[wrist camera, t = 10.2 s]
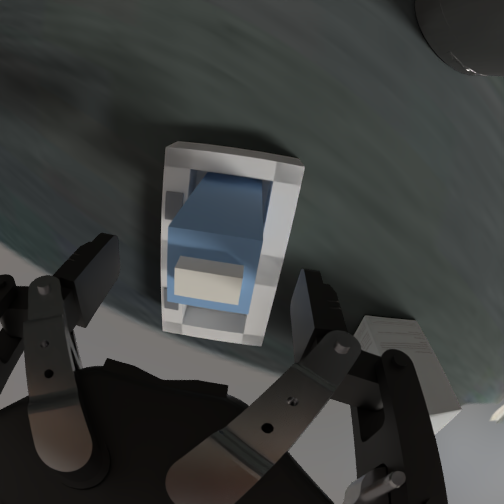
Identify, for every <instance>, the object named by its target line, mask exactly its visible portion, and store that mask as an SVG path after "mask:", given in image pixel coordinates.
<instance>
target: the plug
mask: <svg viewBox="0 0 504 504" xmlns="http://www.w3.org/2000/svg"><path fill="white" fill-rule="evenodd" d="M262 244H263V204H262V180H259V179H253V178H246V177H240V176H233V175H227V174H220V173H212V172H207V173H206V175H205V176H204V177H203V179H202V180H201V181H200V183H199V184H198V185H197V187H196V188H195V189H194V191H193V192H192V194H191V195H190V196H189V198H188V199H187V200H186V202H185V203H184V205H183V206H182V207H181V209H180V210H179V212H178V213H177V214H176V216H175V217H174V219H173V220H172V222H171V223H170V224H169V226H168V244H167V301H168V302H174V303H179V304H185V305H190V306H196V307H202V308H208V309H215V310H221V311H227V312H234V313H241V314H248V313H249V309H250V304H251V299H252V294H253V289H254V284H255V279H256V274H257V269H258V264H259V259H260V254H261V249H262Z"/></svg>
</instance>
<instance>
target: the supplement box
mask: <svg viewBox="0 0 504 504" xmlns="http://www.w3.org/2000/svg"><path fill="white" fill-rule="evenodd" d="M354 337H355V338H356V339H357V340H358V341H359V343H360V345H361V349H362V350H363V351H366V352H369V353H372V354H375V355H378V356H382V354H383V353H384V352H385V351H386V350H388V349H397V350H400V351H402V352H404V353H405V354H407V355H408V356H409V357H410V359H411V360H412V362H413V364H414V367H415V370H416V373H417V376H418V379H419V382H420V385H421V388H422V392H423V395H424V398H425V402H426V405H427V409H428V412H429V416H430V419H431V423H432V427H433V431H434V435H435V434H436V433H437V432H439V431H440V430H441V429H442V428H443V427H444V426H445V425H446V424H447V423H449V422H450V421H451V420H452V419H453V418H454V417H455V416H456V415H457V414H458V413H459V412H460V411H461V407H460V404H459V402H458V400H457V398H456V396H455V393H454V391H453V389H452V387H451V385H450V383H449V381H448V379H447V377H446V375H445V373H444V371H443V369H442V367H441V365H440V363H439V361H438V359H437V357H436V355H435V353H434V351H433V349H432V347H431V346H430V344H429V342H428V340H427V338H426V336H425V335H424V333H423V331H422V329H421V327H420V326H419V324H418V322H417V321H416V320H405V319H395V318H385V317H376V316H368V315H365V316H364V318H363V319H362V321H361V323H360V325H359V327H358V329H357V330H356V332H355V334H354Z"/></svg>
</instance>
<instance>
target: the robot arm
mask: <svg viewBox="0 0 504 504" xmlns="http://www.w3.org/2000/svg"><path fill="white" fill-rule="evenodd" d="M415 12H416V17H417V20H418V24H419V27H420V29H421V31H422V33H423V35H424V37H425V39H426V40H427V42H428V43H429V45H430V46H431V48H432V49H433V50H434V51H435V53H436V54H437V55H438V56H439V57H440V58H441V59H442V60H443V61H444V62H445V63H446V64H447V65H449V66H450V67H452V68H453V69H455V70H456V71H459V72H461V73H463V74H467V75H479V76H503V77H504V0H415ZM119 273H120V256H119V241H118V237H117V236H116V235H111V234H106V233H100V234H99V235H98V236H97V237H96V238H95V239H94V240H93V241H92V242H88V243H86V244H84V245H82V246H80V247H79V248H78V249H77V250H76V251H75V252H74V254H72V255H71V257H70V258H69V260H67V261H66V262H65V263H64V264H63V265H62V266H61V267H60V268H59V269H58V270H57V271H56V273H55V274H54V275H53V276H50V275H46V276H41V277H39V278H37V279H35V280H34V281H33V282H32V283H31V284H30V286H29V287H28V286H16V284H15V281H14V278H13V277H12V276H11V275H6V274H5V275H0V322H1V324H2V326H3V328H2V329H1V331H0V394H1V392H2V390H3V388H4V386H5V384H6V382H7V380H8V378H9V376H10V374H11V372H12V370H13V369H14V367H15V365H16V363H17V361H18V360H19V358H20V356H21V354H22V353H23V351H24V356H25V368H26V377H27V386H28V393H29V395H28V396H26V397H25V398H22V399H21V400H19V401H17V402H15V403H13V404H11V405H9V406H7V407H5V408H3V409H1V410H0V504H334V503H333V501H332V500H331V499H330V498H329V497H328V496H327V495H326V494H325V493H324V492H323V491H322V490H321V489H320V487H319V486H318V485H317V484H316V483H315V482H314V481H313V480H312V479H311V478H310V476H309V475H308V474H307V473H306V472H305V471H304V470H303V469H302V467H301V466H300V465H299V464H298V463H297V462H296V461H295V460H294V458H293V457H292V456H291V455H290V453H288V450H289V449H290V448H291V447H292V446H293V445H294V444H295V442H296V441H297V440H298V439H299V437H300V436H301V435H302V434H303V433H304V432H305V430H306V429H307V428H308V427H309V425H310V424H311V423H312V421H313V420H314V419H315V418H316V417H317V415H318V414H319V413H320V411H321V410H322V409H323V407H324V406H325V405H326V404H327V402H328V401H329V399H333V400H336V401H339V402H343V403H346V404H349V405H350V407H351V415H352V425H353V434H354V444H355V456H356V469H357V480H355V481H353V482H352V483H351V484H350V485H349V486H348V487H347V489H346V492H345V497H344V502H343V504H448V500H447V495H446V488H445V482H444V476H443V471H442V466H441V461H440V457H439V452H438V447H437V443H436V439H435V435H434V431H433V427H432V423H431V419H430V416H429V412H428V409H427V405H426V402H425V398H424V395H423V392H422V388H421V385H420V382H419V379H418V376H417V373H416V370H415V367H414V364H413V362H412V360H411V359H410V357H409V356H408V355H407V354H405V353H404V352H402V351H400V350H397V349H388V350H386V351H385V352H384V353H383V354H382V356H378V355H375V354H372V353H369V352H366V351H363V350H362V349H361V345H360V343H359V341H358V340H357V339H356V338H355V337H354V336H353V335H351V334H349V333H348V331H347V328H346V324H345V321H344V317H343V314H342V311H341V307H340V304H339V303H338V302H339V301H338V297H337V294H336V292H335V291H334V290H333V288H332V287H331V286H330V285H329V284H323V281H322V278H321V274H320V272H319V271H315V270H309V269H302V270H301V271H300V274H299V277H298V280H297V284H296V287H295V290H294V293H293V296H292V300H291V306H290V314H291V325H292V337H293V349H294V361H295V363H294V364H293V365H292V366H291V367H290V368H289V369H288V370H287V371H286V372H285V373H284V374H283V375H282V376H281V377H280V378H279V379H278V380H277V381H276V382H275V383H273V385H271V386H270V387H269V388H268V389H267V390H266V391H265V392H264V393H263V394H262V395H261V396H260V397H259V398H258V399H256V400H255V401H254V402H253V403H252V404H251V405H250V406H248V405H247V404H246V403H244V402H242V401H241V400H239V399H237V398H235V397H233V396H231V395H228V394H227V391H228V385H223V384H217V383H210V382H204V381H199V380H162V379H159V378H157V377H155V376H153V375H151V374H149V373H147V372H145V371H143V370H141V369H139V368H138V367H135V366H133V365H130V364H126V363H122V362H119V361H115V360H112V359H109V358H107V360H106V361H105V364H104V366H93V367H86V368H83V367H82V363H81V359H80V355H79V352H78V347H77V342H76V338H75V334H74V330H73V329H74V327H75V326H76V325H78V326H81V327H84V328H86V327H87V325H88V323H89V322H90V320H91V319H92V317H93V315H94V314H95V312H96V311H97V309H98V307H99V306H100V304H101V303H102V301H103V300H104V298H105V297H106V295H107V294H108V292H109V291H110V289H111V288H112V286H113V285H114V283H115V282H116V280H117V279H118V276H119Z"/></svg>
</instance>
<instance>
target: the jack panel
mask: <svg viewBox="0 0 504 504" xmlns="http://www.w3.org/2000/svg"><path fill="white" fill-rule="evenodd" d="M304 169H305V166H304V165H303V164H302V162H301V161H300V159H298V158H293V157H288V156H283V155H277V154H271V153H266V152H260V151H253V150H247V149H240V148H233V147H226V146H218V145H210V144H202V143H192V142H182V141H177V142H175V143H173V144H171V145H169V146H167V147H166V150H165V162H164V176H163V193H162V217H161V301H162V324H163V331H167V332H172V333H177V334H182V335H188V336H194V337H199V338H205V339H212V340H218V341H225V342H232V343H239V344H246V345H254V346H261V345H262V342H263V338H264V334H265V330H266V327H267V323H268V319H269V315H270V311H271V308H272V304H273V300H274V296H275V292H276V288H277V284H278V280H279V276H280V272H281V268H282V264H283V260H284V256H285V252H286V248H287V243H288V239H289V235H290V231H291V226H292V222H293V218H294V214H295V209H296V205H297V200H298V196H299V191H300V187H301V182H302V178H303V173H304ZM207 172H212V173H220V174H227V175H233V176H240V177H246V178H253V179H259V180H262V204H263V244H262V249H261V254H260V259H259V264H258V269H257V274H256V279H255V284H254V289H253V294H252V299H251V304H250V309H249V313H248V314H241V313H234V312H227V311H221V310H215V309H208V308H202V307H196V306H190V305H185V304H179V303H174V302H168V301H167V244H168V226H169V224H170V223H171V222H172V220H173V219H174V217H175V216H176V214H177V213H178V212H179V210H180V209H181V207H182V206H183V205H184V203H185V202H186V200H187V199H188V198H189V196H190V195H191V194H192V192H193V191H194V189H195V188H196V187H197V185H198V184H199V183H200V181H201V180H202V179H203V177H204V176H205V175H206V173H207Z"/></svg>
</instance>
